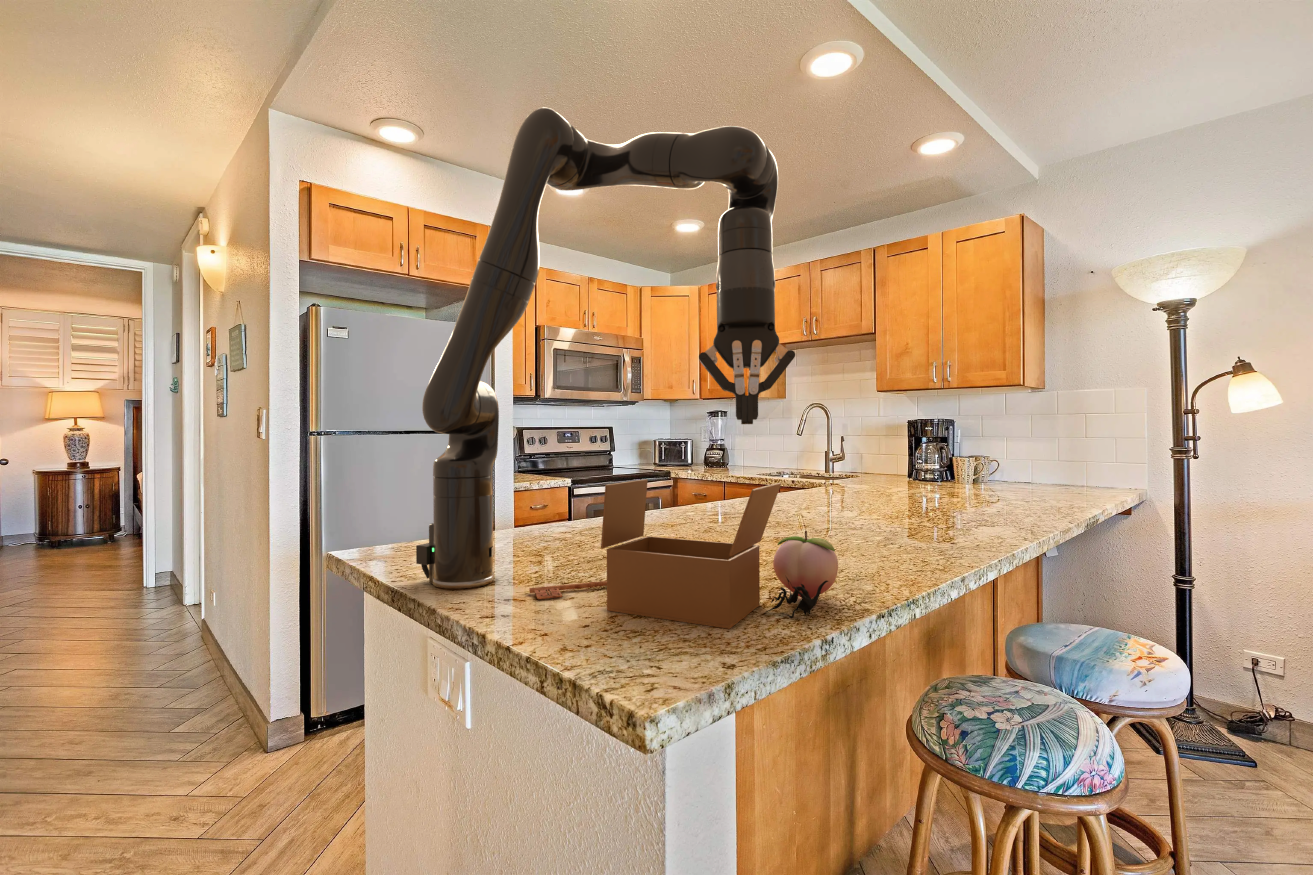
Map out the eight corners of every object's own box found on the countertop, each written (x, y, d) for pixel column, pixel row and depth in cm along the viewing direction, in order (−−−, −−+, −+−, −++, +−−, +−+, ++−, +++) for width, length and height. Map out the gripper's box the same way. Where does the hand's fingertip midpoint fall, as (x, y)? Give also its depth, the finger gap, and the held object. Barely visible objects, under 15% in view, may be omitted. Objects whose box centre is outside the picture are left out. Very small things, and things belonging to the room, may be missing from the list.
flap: (758, 540, 86) (760, 541, 86) (728, 555, 76) (731, 556, 76) (779, 482, 85) (781, 483, 85) (751, 489, 75) (754, 490, 74)
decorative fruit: (848, 598, 90) (848, 529, 90) (828, 611, 83) (828, 537, 83) (788, 588, 96) (787, 524, 96) (764, 600, 89) (764, 531, 89)
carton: (759, 605, 86) (759, 483, 86) (729, 628, 76) (729, 489, 76) (642, 590, 95) (641, 479, 95) (600, 609, 85) (600, 484, 84)
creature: (753, 620, 83) (794, 621, 77) (747, 579, 84) (787, 577, 78) (795, 611, 87) (838, 611, 81) (789, 572, 88) (831, 570, 82)
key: (533, 602, 89) (632, 592, 94) (533, 596, 89) (632, 586, 94) (527, 589, 95) (621, 580, 100) (527, 583, 95) (621, 574, 100)
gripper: (793, 296, 84) (794, 424, 84) (695, 299, 85) (696, 425, 85) (801, 282, 76) (802, 423, 76) (694, 286, 77) (695, 424, 77)
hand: (746, 424), depth 81 cm, fingers closed
